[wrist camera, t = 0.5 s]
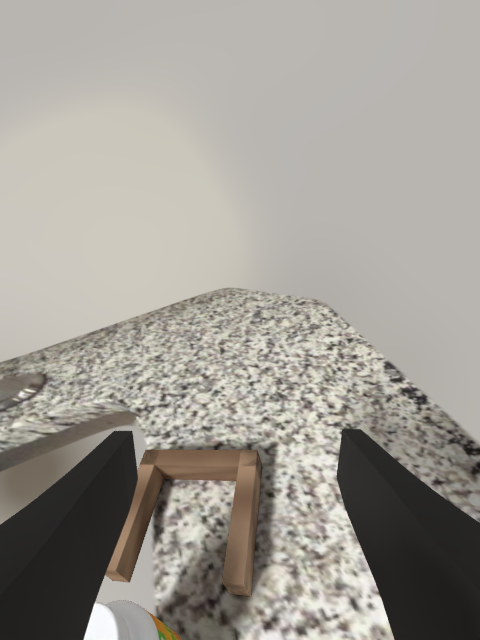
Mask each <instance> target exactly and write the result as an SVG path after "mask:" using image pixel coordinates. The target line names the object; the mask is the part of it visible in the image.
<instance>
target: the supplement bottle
mask: <svg viewBox="0 0 480 640" xmlns="http://www.w3.org/2000/svg"><path fill="white" fill-rule="evenodd" d="M84 640H183V639H182V638H181V637H180V636H179V635H178V634H176V633H175V632H174V631H173V630H171V629H170V628H169V627H168V626H166V625H165V624H164V623H162V622H161V621H160V620H158V619H157V618H156V617H154V616H153V615H152V614H151V613H149V612H148V611H147V610H145V609H144V608H143V607H141V606H139V605H138V604H136V603H134V602H131V601H126V600H119V601H113V602H110V603H107V604H103V603H100V602H95V603H94V607H93V610H92V613H91V617H90V620H89V623H88V627H87V630H86V633H85V637H84Z"/></svg>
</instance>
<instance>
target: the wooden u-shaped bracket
mask: <svg viewBox="0 0 480 640" xmlns="http://www.w3.org/2000/svg"><path fill="white" fill-rule="evenodd" d="M261 472H262V464H261V461H260V458H259V454H258V451H257V450H145V453H144V455H143V458H142V460H141V463H140V465H139V468H138V470H137V474H138V481H137V485H136V489H135V493H134V497H133V501H132V504H131V508H130V511H129V514H128V517H127V519H126V522H125V524H124V527H123V530H122V532H121V535H120V538H119V540H118V543H117V545H116V548H115V550H114V553H113V555H112V558H111V561H110V563H109V566H108V568H107V571H106V573H105V575H106V576H107V577H109V578H110V579H111V580H113V581H122V582H130V580H131V577H132V574H133V571H134V568H135V564H136V562H137V559H138V555H139V553H140V550H141V547H142V543H143V540H144V537H145V534H146V531H147V528H148V525H149V522H150V519H151V516H152V513H153V510H154V507H155V504H156V501H157V498H158V495H159V492H160V489H161V486H162V483H163V480H164V479H183V480H219V481H236V487H235V494H234V501H233V508H232V515H231V522H230V528H229V535H228V542H227V549H226V556H225V563H224V570H223V577H222V583H223V585H224V586H225V587H226V589H227V590H228V591H229V593H230V594H235V595H244V596H251V591H252V579H253V567H254V555H255V543H256V532H257V520H258V508H259V496H260V484H261Z"/></svg>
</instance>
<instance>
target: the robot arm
mask: <svg viewBox="0 0 480 640" xmlns="http://www.w3.org/2000/svg"><path fill="white" fill-rule="evenodd" d="M337 480H338V484H339V488H340V491H341V495H342V498H343V502H344V505H345V508H346V511H347V514H348V516H349V519H350V521H351V524H352V526H353V528H354V531H355V533H356V536H357V538H358V541H359V543H360V546H361V548H362V550H363V553H364V555H365V558H366V560H367V563H368V565H369V568H370V570H371V572H372V575H373V577H374V580H375V582H376V585H377V588H378V590H379V593H380V596H381V599H382V601H383V605H384V608H385V611H386V614H387V617H388V620H389V623H390V627H391V630H392V633H393V636H394V639H395V640H480V523H479V522H478V521H476V520H475V519H473V518H472V517H470V516H469V515H467V514H466V513H464V512H463V511H461V510H460V509H458V508H457V507H456V506H454V505H453V504H451V503H450V502H449V501H447V500H446V499H444V498H443V497H442V496H440V495H439V494H438V493H436V492H435V491H434V490H432V489H431V488H430V487H429V486H427V485H426V484H425V483H423V482H422V481H421V480H420V479H418V478H417V477H416V476H415V475H413V474H412V473H411V472H410V471H408V470H407V469H406V468H405V467H404V466H402V465H401V464H400V463H399V462H398V461H396V460H395V459H394V458H393V457H392V456H391V455H390V454H388V453H387V452H386V451H385V450H384V449H383V448H381V447H380V446H379V445H378V444H377V443H376V442H375V441H373V440H372V439H371V438H370V437H369V436H368V435H367V434H365V433H364V432H363V431H362V430H360V429H342V437H341V445H340V453H339V462H338V470H337ZM137 481H138V474H137V466H136V458H135V449H134V441H133V434H132V431H114V432H113V433H112V434H110V435H109V436H108V437H107V438H106V439H105V440H104V441H103V442H102V443H101V444H99V445H98V446H97V447H96V448H95V449H94V450H93V451H92V452H91V453H89V454H88V455H87V456H86V457H85V458H84V459H83V460H82V461H80V462H79V463H78V464H77V465H76V466H75V467H74V468H73V469H72V470H70V471H69V472H68V473H67V474H66V475H65V476H63V477H62V478H61V479H60V480H58V481H57V482H56V483H55V484H53V485H52V486H51V487H50V488H49V489H47V490H46V491H45V492H44V493H42V494H41V495H40V496H39V497H38V498H37V499H35V500H34V501H32V502H31V503H30V504H29V505H27V506H26V507H25V508H23V509H22V510H20V511H19V512H18V513H16V514H15V515H14V516H12V517H11V518H9V519H8V520H6V521H5V522H4V523H2V524H1V525H0V640H84V637H85V633H86V630H87V627H88V623H89V620H90V617H91V613H92V610H93V607H94V603H95V601H96V598H97V595H98V592H99V589H100V586H101V584H102V581H103V579H104V576H105V573H106V571H107V568H108V566H109V563H110V561H111V558H112V555H113V553H114V550H115V548H116V545H117V543H118V540H119V538H120V535H121V532H122V530H123V527H124V524H125V522H126V519H127V517H128V514H129V511H130V508H131V504H132V501H133V497H134V493H135V489H136V485H137Z"/></svg>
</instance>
